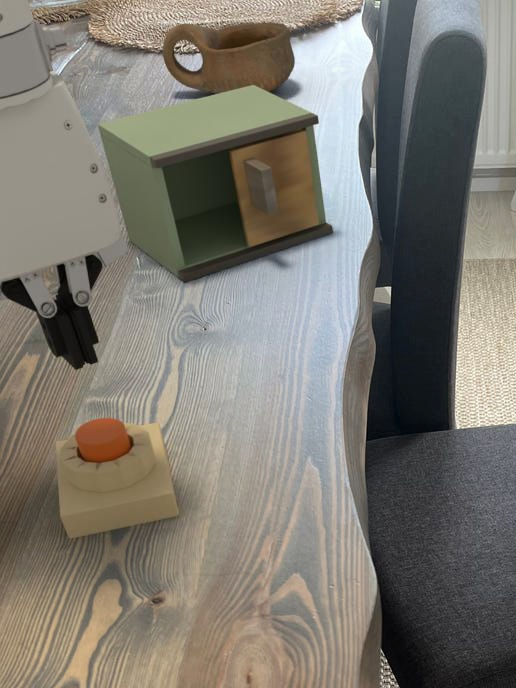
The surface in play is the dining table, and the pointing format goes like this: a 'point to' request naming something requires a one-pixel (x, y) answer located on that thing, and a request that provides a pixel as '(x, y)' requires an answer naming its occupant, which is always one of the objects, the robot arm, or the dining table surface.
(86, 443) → the light button
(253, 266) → the dining table surface
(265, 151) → the cupboard door
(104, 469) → the switch block
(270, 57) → the brown clay cup
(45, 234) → the robot arm
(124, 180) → the cupboard
